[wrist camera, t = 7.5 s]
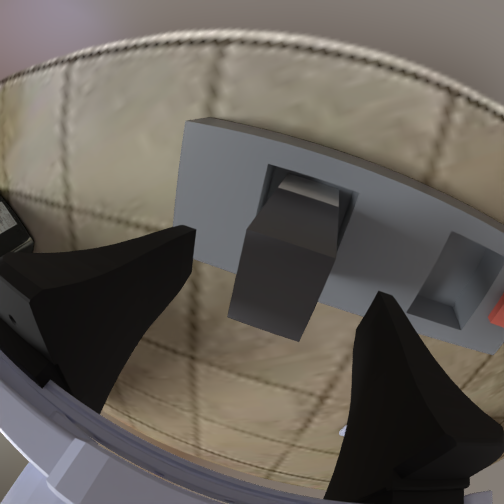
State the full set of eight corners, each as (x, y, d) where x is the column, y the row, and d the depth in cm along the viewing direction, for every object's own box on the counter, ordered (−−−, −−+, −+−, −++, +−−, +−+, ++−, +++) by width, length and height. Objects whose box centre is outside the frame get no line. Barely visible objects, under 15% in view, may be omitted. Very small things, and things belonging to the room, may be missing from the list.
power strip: (534, 244, 13) (558, 270, 10) (482, 328, 17) (495, 360, 14) (209, 117, 16) (179, 121, 13) (192, 231, 20) (166, 255, 17)
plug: (339, 189, 16) (336, 258, 9) (318, 249, 18) (298, 342, 11) (288, 173, 16) (246, 228, 9) (272, 234, 18) (227, 316, 12)
